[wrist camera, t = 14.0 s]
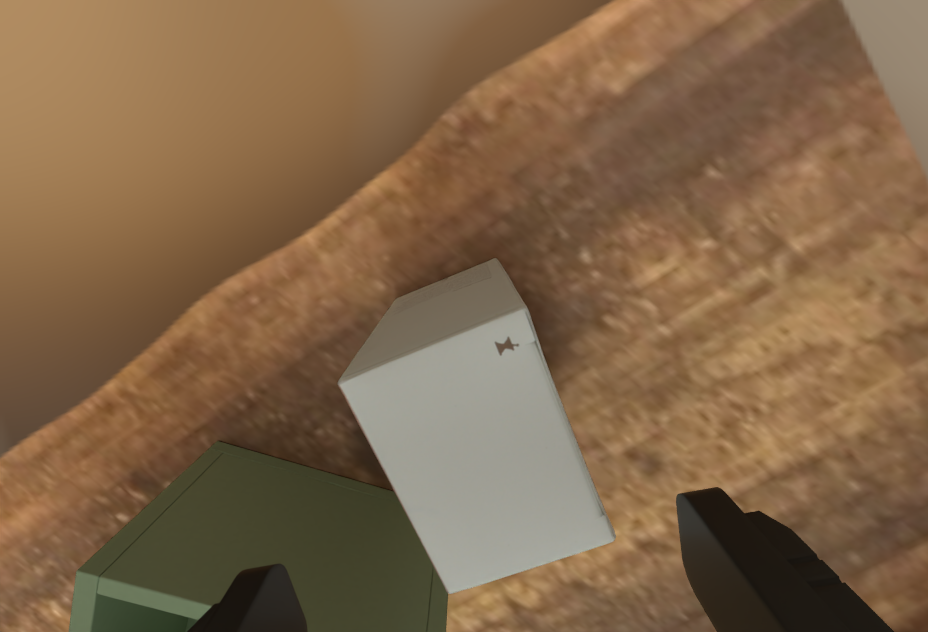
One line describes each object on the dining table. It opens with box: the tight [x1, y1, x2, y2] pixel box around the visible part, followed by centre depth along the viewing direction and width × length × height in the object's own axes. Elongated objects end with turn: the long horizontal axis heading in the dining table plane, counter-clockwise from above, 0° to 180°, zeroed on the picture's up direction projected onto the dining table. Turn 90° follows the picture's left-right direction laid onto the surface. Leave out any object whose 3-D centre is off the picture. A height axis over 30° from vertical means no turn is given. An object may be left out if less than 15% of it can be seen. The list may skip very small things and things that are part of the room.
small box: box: [338, 258, 616, 594], centre depth 17 cm, size 8×6×10 cm
